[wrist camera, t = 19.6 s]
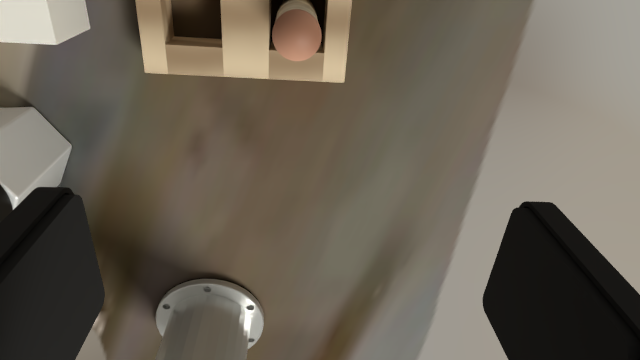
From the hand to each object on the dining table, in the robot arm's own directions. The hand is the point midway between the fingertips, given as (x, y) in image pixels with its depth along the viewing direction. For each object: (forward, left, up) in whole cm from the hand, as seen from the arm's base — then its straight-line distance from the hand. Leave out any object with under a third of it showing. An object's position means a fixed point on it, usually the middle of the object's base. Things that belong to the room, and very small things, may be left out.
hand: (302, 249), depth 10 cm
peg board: (0, +4, -30) cm, 31 cm away
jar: (-13, +25, -31) cm, 42 cm away
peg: (0, 0, -30) cm, 30 cm away
